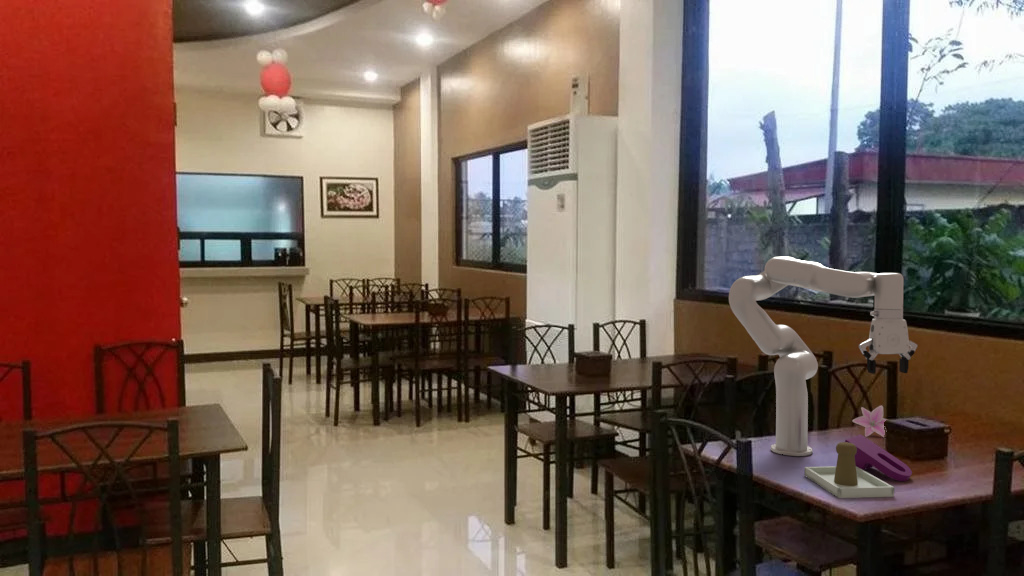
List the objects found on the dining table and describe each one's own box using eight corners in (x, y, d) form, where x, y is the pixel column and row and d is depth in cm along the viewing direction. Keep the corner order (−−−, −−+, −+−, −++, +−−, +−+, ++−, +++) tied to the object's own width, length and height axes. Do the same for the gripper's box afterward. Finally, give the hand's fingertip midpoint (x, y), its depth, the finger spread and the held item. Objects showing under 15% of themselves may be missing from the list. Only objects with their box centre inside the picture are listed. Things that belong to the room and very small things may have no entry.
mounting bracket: (903, 495, 218) (848, 456, 230) (917, 472, 215) (861, 434, 227) (888, 502, 212) (833, 462, 224) (902, 478, 209) (845, 439, 221)
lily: (846, 436, 268) (852, 415, 263) (858, 418, 276) (864, 398, 270) (881, 451, 261) (888, 430, 256) (892, 433, 269) (899, 412, 264)
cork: (853, 479, 211) (853, 440, 210) (861, 486, 205) (861, 445, 204) (830, 479, 211) (831, 440, 211) (838, 485, 205) (838, 445, 205)
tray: (804, 475, 218) (804, 467, 218) (855, 474, 218) (855, 465, 218) (838, 498, 198) (838, 488, 198) (894, 496, 199) (894, 487, 198)
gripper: (866, 316, 219) (865, 375, 220) (924, 315, 220) (923, 374, 221) (853, 314, 226) (852, 371, 227) (909, 313, 227) (908, 370, 228)
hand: (887, 372), depth 224 cm, fingers open, 9 cm apart
